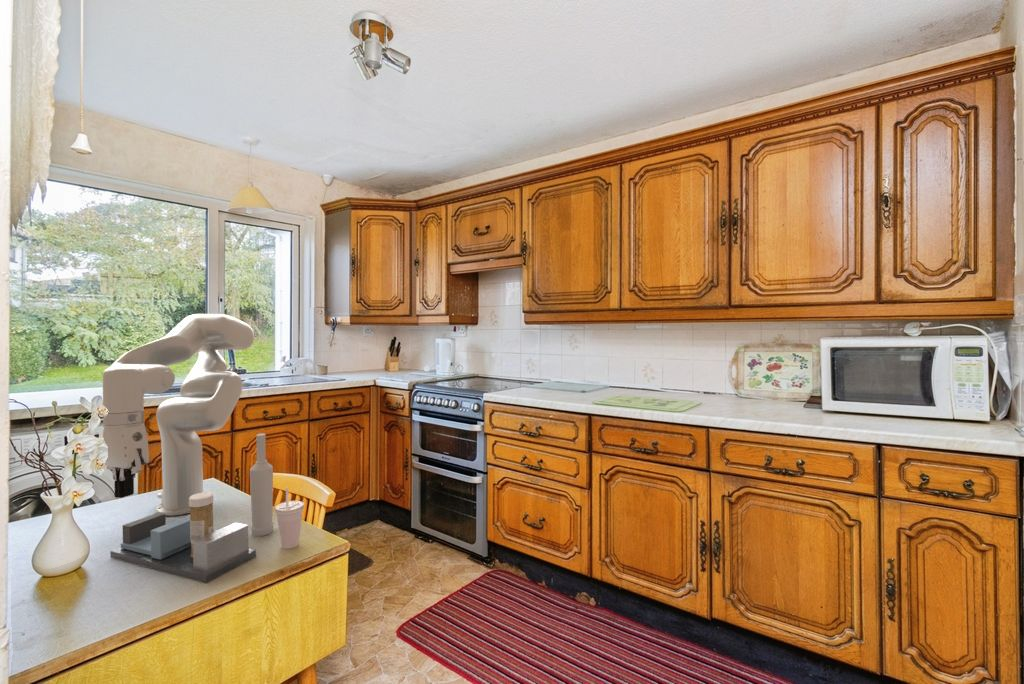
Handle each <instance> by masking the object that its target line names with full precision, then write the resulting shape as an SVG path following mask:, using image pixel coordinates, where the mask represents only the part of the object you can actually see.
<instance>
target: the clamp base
mask: <svg viewBox="0 0 1024 684" xmlns="http://www.w3.org/2000/svg"><path fill="white" fill-rule="evenodd" d="M249 536H250V535H249V524H245V523H241V522H233V523H230V524H228V525H226V526H223V527H221V528H219V529H217V530H215V531H214V532H212V533H210V534H208V535H205V536H203V537H201V538H199V539H196V540H194V541H193V558H192V557H191V546H190V547H188V548H186V549H183V550H181V551H179V552H177V553H175V554H172V555H170V556H168V557H166V558H163V559H161V560H160V559H156V558H152V557H151V555H147V554H143V553H139V552H135V551H131V550H127V549H123V548H121V546H120V547H117V548H114V549H111V550H110V551H109V552H110V555H109V556H110V558H111V559H115V560H118V561H123V562H127V563H131V564H133V565H136V566H137V565H138V566H141V567H145V568H147V569H148V568H149V569H153V570H156V571H159V572H163V573H167V574H170V575H175V576H178V577H182V578H186V579H190V580H193V581H197V582H200V583H205V584H207V583H209V582H212V581H213V580H215V579H217V578H219V577H221V576H222V575H224V574H226V573H228V572H230V571H231V570H234V569H235V568H237V567H240V566H241V565H242V564H243V565H244V564H245V563H246V562H248V561H250V560H253V558H256V557H257V550H256V549H253V548H250V547H249V546H250V543H249V541H250V540H249V539H250V537H249Z"/></svg>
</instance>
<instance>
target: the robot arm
mask: <svg viewBox="0 0 1024 684" xmlns="http://www.w3.org/2000/svg"><path fill="white" fill-rule="evenodd" d="M254 342H255V331H254V329H253V328H252V327H251V326H250V325H249V324H248V323H246V322H245V321H242V320H240V319H238V318H236V317H234V316H231V315H229V314H223V313H222V314H221V313H194V314H191V315H187V316H186V317H184V318H183V319H182V320H181V321H180V322H179V323H178V324H177V325H175V327H173V328H172V329H171V330H170V331H169V332H168V333H167V334H166V335H165V336H163V337H162V338H159V339H155V340H153V341H150V342H148V343H145V344H143V345H139V346H138V347H135V348H132V349H131V350H129V351H127V352H125V353H124V354H122V355H121V356H120V357H119V358H118V359H116V360H115V361H114V362H113V363H112V364H111V365H110V366H109V367H107V368H106V369H104V370H103V373H102V405H103V404H104V406H105V407H106V408H107V409H108V411H109V412H108V411H107V412H108V415H107V416H106V417H105V418H103V417H102V427H103V432H102V438H104V441H105V443H106V444H107V446H108V458H107V460H106V463H105V465H104V466H106V469H107V470H108V471H110V472H111V473H112V479H113V480H114V497H115V498H118V499H122V498H125V497H128V496H132V495H134V493H135V484H134V483H135V481H134V480H135V478H136V475H137V474H138V473H141V472H143V469H142V466H145V465H148V464H149V461H150V457H149V456H150V450H149V449H150V448H149V440H148V439H149V438H148V432H147V429H146V428H147V427H146V425H145V418H144V417H145V414H144V413H145V412H144V411H145V410H144V404H145V403H144V400H145V399H144V397H145V395H158V394H162V393H165V392H167V391H168V390H170V389H171V388H172V387H173V385H174V383H175V379H176V377H175V376H176V375H175V373H174V370H172V368H171V367H169V366H173V365H176V364H177V365H178V364H181V363H184V362H187V361H188V360H190V359H191V358H192V357H194V355H195V354H196V362H195V363H194V365H193V367H192V368H191V370H190V371H189V373H188V374H187V375H186V377H185V378H184V381H182V383H181V385H180V389H179V394H180V396H181V397H180V396H178V397H177V396H176V397H172V398H168V399H166V400H163V401H162V402H161V403H160V404H159V405H158V407H157V408H156V411H155V418H156V423H157V427H158V430H159V435H160V443H161V444H160V445H161V472H162V473H161V476H162V478H161V479H162V480H161V481H162V492H158V494H156V495H157V496H156V497H157V498H158V499H161V503H159V505H157V506H156V508H155V511H156V513H158V512H159V513H164V514H166V516H167V517H168V516H170V517H171V516H173V517H174V516H180V515H181V516H182V515H187V514H190V506H189V497H190V496H192V495H194V494H198V493H203V492H204V467H203V466H204V465H203V464H204V463H203V462H204V461H203V443H202V440H201V438H200V436H199V435H198V434H197V433H196V432H213V431H218V430H221V429H222V428H223V427H224V426H226V424H227V422H228V420H229V419H230V418H231V415H232V413H233V411H234V409H235V408H236V405H237V403H238V402H239V399H240V398H241V395H242V391H243V382H242V381H243V380H242V378H241V377H240V375H239V374H237V373H236V372H234V371H228V370H227V369H228V365H227V362H226V361H225V359H224V357H223V356H222V355H221V354H220V353H219V350H221V351H222V350H225V351H228V350H229V351H231V350H233V351H234V350H237V351H239V350H243V351H244V350H247V349H248V348H251V346H252V345H253V343H254ZM105 410H106V409H105ZM156 513H155V514H156Z"/></svg>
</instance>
